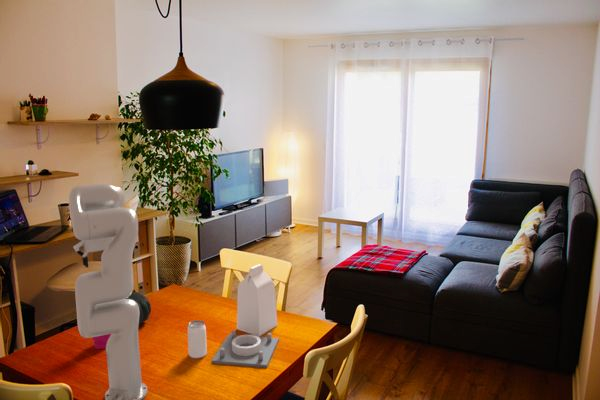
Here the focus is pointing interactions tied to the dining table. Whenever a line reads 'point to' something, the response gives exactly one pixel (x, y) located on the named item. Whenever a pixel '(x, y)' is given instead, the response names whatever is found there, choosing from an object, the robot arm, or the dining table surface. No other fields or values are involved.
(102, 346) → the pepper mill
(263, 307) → the milk
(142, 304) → the squash
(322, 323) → the dining table surface
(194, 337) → the can
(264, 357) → the carrier plate
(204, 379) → the dining table surface
